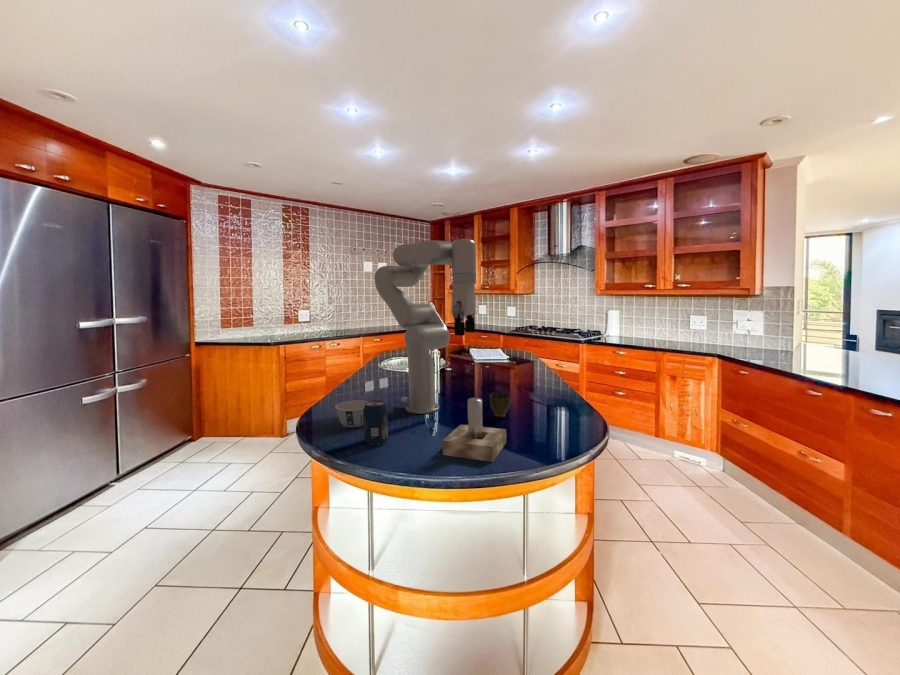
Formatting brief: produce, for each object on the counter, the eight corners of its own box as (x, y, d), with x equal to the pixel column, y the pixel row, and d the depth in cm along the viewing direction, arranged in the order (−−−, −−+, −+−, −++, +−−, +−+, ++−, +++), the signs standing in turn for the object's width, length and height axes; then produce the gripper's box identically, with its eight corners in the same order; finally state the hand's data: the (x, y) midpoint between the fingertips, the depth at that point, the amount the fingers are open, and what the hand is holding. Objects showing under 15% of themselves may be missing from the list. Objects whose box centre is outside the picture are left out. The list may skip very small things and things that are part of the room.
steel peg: (466, 450, 112) (465, 400, 111) (471, 445, 116) (470, 397, 114) (480, 452, 111) (479, 402, 109) (484, 446, 114) (483, 398, 113)
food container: (343, 417, 145) (342, 400, 144) (376, 418, 143) (375, 400, 143) (330, 429, 133) (329, 409, 132) (366, 429, 131) (365, 410, 131)
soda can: (366, 438, 123) (364, 400, 122) (389, 438, 123) (388, 399, 122) (362, 447, 116) (361, 406, 115) (387, 446, 116) (385, 405, 115)
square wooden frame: (442, 454, 110) (442, 440, 109) (460, 437, 122) (460, 424, 122) (492, 461, 104) (492, 446, 104) (506, 442, 117) (506, 429, 117)
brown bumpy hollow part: (510, 413, 145) (510, 391, 144) (511, 420, 137) (511, 397, 136) (489, 413, 145) (489, 391, 144) (489, 420, 138) (489, 397, 137)
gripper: (462, 280, 137) (463, 330, 139) (442, 279, 121) (443, 336, 123) (483, 279, 134) (484, 331, 136) (466, 278, 119) (467, 336, 121)
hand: (465, 333), depth 130 cm, fingers open, 9 cm apart
